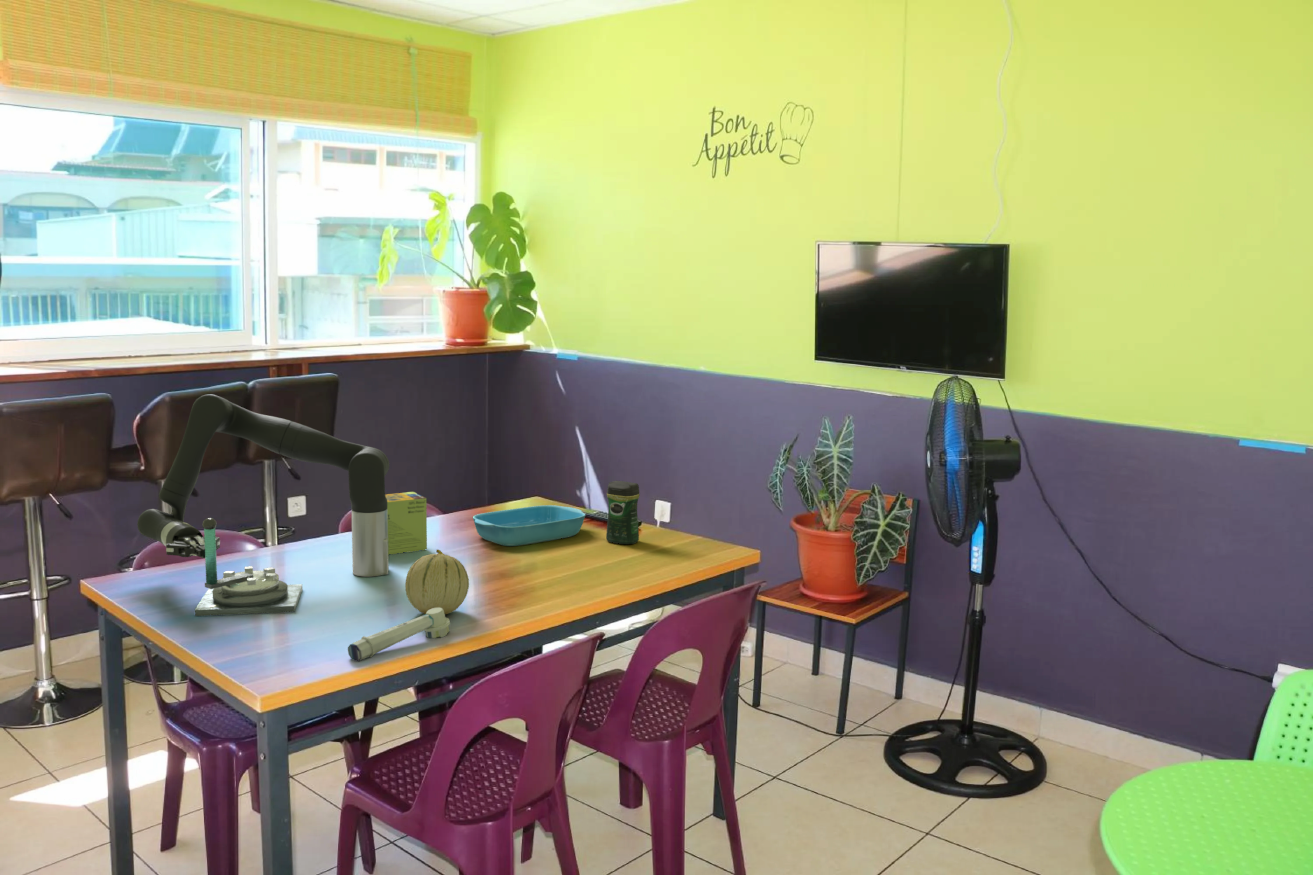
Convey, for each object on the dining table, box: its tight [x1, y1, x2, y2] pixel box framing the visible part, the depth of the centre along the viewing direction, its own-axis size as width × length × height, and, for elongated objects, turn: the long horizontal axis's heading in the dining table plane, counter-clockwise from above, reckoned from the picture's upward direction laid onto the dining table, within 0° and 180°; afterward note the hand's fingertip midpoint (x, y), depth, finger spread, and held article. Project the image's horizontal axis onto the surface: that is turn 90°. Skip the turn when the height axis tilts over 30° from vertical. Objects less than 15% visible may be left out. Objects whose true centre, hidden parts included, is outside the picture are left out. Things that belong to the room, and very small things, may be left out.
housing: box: [194, 580, 303, 617], centre depth 262 cm, size 22×18×4 cm
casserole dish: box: [472, 504, 586, 547], centre depth 333 cm, size 37×22×7 cm, turn 132°
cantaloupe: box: [404, 549, 470, 615], centre depth 256 cm, size 15×15×15 cm
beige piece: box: [347, 607, 451, 662], centre depth 235 cm, size 5×7×25 cm
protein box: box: [385, 491, 428, 556], centre depth 313 cm, size 10×15×16 cm
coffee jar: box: [605, 480, 641, 545], centre depth 328 cm, size 10×8×19 cm
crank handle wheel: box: [201, 517, 280, 596], centre depth 258 cm, size 18×13×19 cm
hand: (206, 553), depth 252 cm, fingers closed
